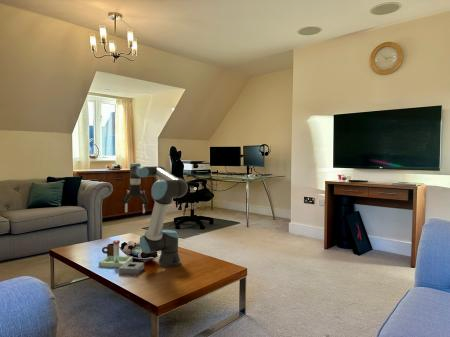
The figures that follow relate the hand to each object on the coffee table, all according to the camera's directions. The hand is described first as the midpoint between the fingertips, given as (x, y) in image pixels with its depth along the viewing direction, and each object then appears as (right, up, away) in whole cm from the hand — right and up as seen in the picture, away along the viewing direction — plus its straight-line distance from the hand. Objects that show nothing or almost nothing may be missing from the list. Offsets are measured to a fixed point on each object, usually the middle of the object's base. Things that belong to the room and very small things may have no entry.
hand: (135, 212), depth 229 cm
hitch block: (+7, -34, -30) cm, 45 cm away
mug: (-17, -33, -4) cm, 37 cm away
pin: (-8, -33, -16) cm, 37 cm away
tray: (-8, -33, -16) cm, 38 cm away
